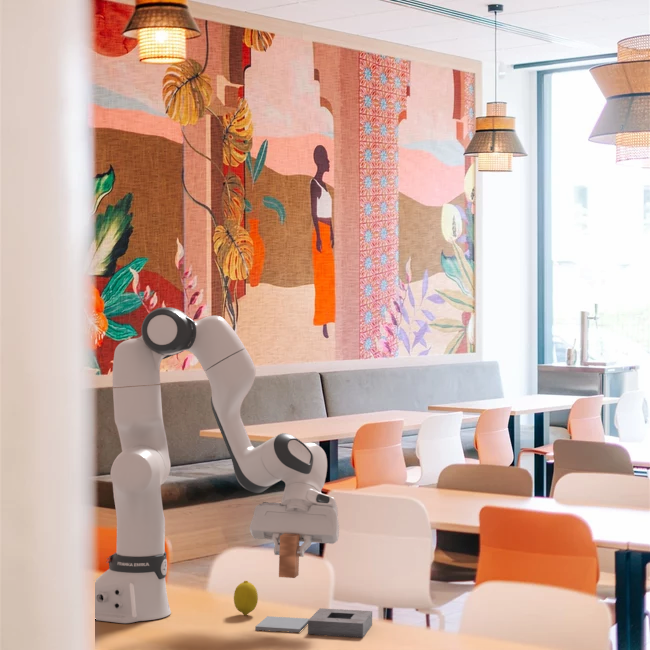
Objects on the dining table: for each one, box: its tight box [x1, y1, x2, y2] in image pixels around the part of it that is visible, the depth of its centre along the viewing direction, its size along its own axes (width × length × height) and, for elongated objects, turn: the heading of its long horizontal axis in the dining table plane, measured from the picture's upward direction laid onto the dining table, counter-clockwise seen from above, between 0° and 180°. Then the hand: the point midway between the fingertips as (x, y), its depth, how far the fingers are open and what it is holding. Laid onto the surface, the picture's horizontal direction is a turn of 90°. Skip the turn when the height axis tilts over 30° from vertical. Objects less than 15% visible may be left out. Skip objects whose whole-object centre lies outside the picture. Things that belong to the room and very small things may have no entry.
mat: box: [254, 615, 310, 633], centre depth 236 cm, size 10×10×1 cm
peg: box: [278, 534, 300, 579], centre depth 236 cm, size 4×4×9 cm
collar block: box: [307, 607, 373, 639], centre depth 233 cm, size 12×12×3 cm
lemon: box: [233, 580, 259, 616], centre depth 246 cm, size 6×6×8 cm
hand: (288, 554), depth 235 cm, fingers closed on peg, 4 cm apart
